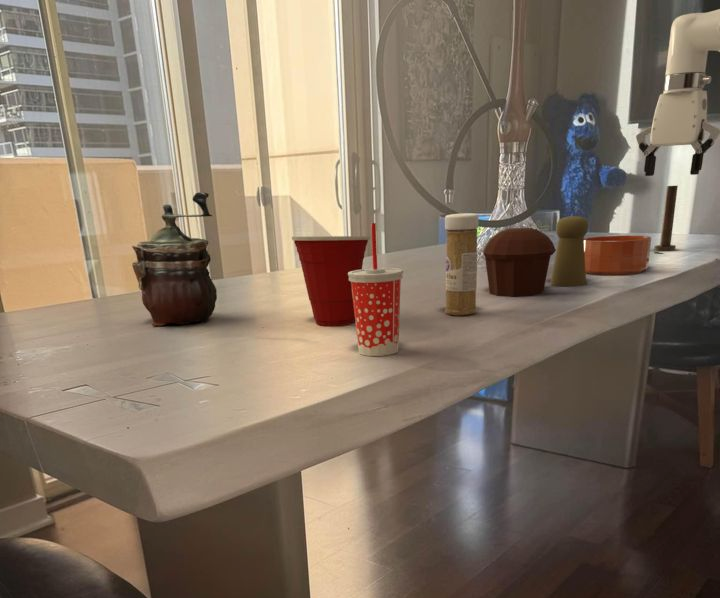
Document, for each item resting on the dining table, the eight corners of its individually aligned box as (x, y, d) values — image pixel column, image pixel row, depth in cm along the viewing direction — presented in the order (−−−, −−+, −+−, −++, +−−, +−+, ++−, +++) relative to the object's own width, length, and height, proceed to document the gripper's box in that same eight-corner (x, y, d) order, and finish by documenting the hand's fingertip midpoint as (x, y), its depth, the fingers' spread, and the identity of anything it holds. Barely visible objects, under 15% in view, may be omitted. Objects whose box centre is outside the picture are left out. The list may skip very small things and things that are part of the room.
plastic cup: (388, 317, 100) (385, 229, 95) (346, 332, 92) (340, 236, 87) (328, 313, 105) (322, 230, 101) (283, 326, 97) (274, 236, 93)
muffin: (475, 297, 112) (476, 232, 108) (486, 287, 122) (487, 227, 118) (551, 297, 108) (555, 230, 105) (556, 287, 118) (559, 224, 114)
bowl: (632, 266, 138) (635, 234, 136) (658, 273, 127) (662, 238, 125) (571, 269, 138) (574, 237, 136) (592, 276, 127) (594, 242, 125)
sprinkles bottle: (439, 313, 101) (438, 214, 96) (465, 309, 103) (466, 212, 97) (456, 317, 97) (456, 215, 92) (483, 313, 99) (485, 213, 93)
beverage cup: (378, 343, 84) (374, 221, 79) (415, 349, 80) (413, 221, 74) (341, 353, 80) (333, 225, 75) (378, 360, 76) (372, 225, 71)
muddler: (669, 251, 159) (677, 185, 153) (678, 253, 155) (686, 185, 149) (650, 252, 159) (657, 186, 153) (658, 254, 154) (666, 186, 149)
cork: (562, 287, 117) (566, 218, 113) (543, 283, 123) (547, 217, 118) (593, 284, 119) (598, 216, 114) (573, 280, 124) (578, 215, 120)
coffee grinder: (197, 333, 96) (177, 193, 89) (126, 326, 104) (103, 197, 97) (257, 316, 106) (243, 190, 99) (188, 312, 114) (171, 193, 106)
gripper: (734, 81, 140) (719, 173, 147) (649, 90, 151) (639, 175, 158) (721, 79, 135) (706, 174, 142) (634, 88, 147) (625, 176, 153)
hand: (671, 175), depth 150 cm, fingers open, 9 cm apart
